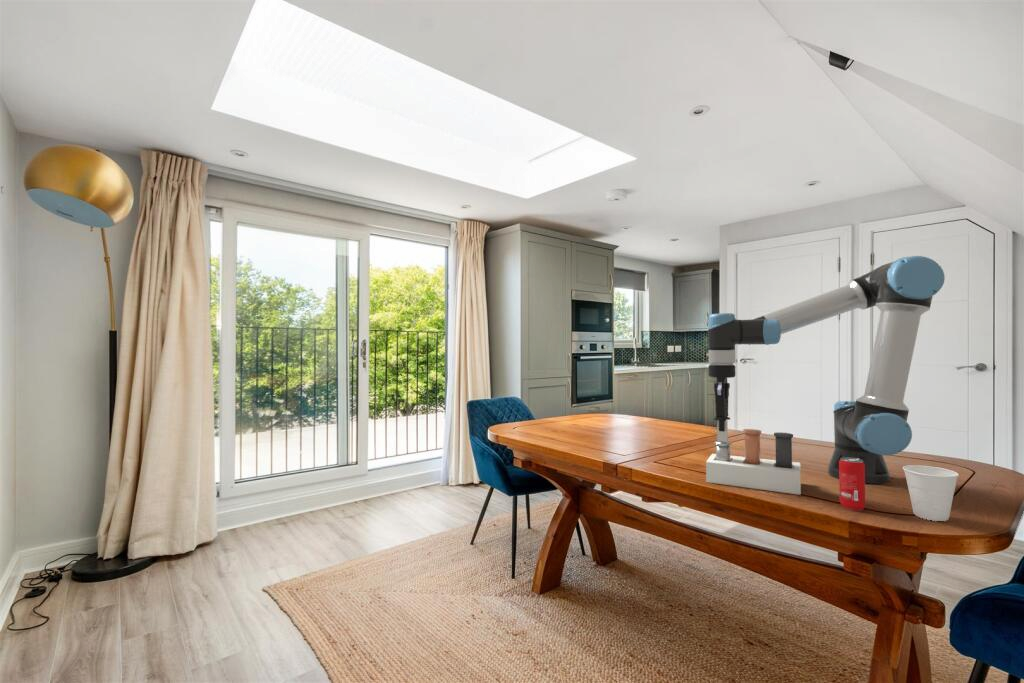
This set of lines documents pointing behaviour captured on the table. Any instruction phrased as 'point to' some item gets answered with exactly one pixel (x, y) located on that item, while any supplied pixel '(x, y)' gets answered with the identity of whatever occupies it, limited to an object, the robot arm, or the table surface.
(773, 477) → the socket board
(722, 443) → the plug grey
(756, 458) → the plug rust
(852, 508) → the beverage can
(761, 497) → the table surface
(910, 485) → the cup
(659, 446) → the table surface
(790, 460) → the plug black
